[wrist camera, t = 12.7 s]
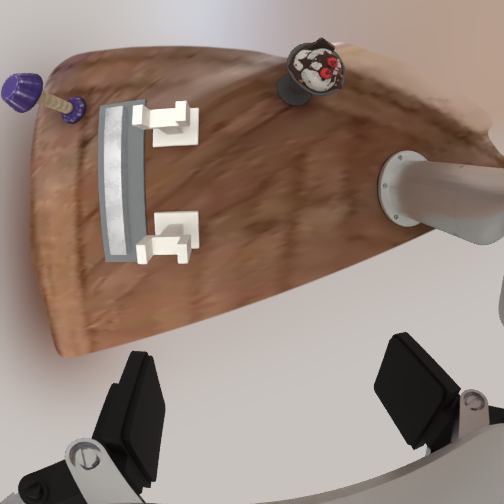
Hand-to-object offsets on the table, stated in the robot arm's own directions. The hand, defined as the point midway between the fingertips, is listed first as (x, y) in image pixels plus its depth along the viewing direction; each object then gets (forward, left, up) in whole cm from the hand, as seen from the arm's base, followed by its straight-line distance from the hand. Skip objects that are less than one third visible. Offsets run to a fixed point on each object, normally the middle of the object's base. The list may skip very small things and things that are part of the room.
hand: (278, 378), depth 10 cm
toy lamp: (+24, -18, -31) cm, 43 cm away
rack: (+8, -6, -30) cm, 32 cm away
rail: (+16, -6, -28) cm, 33 cm away
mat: (+16, -6, -30) cm, 35 cm away
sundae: (-8, -19, -31) cm, 37 cm away
